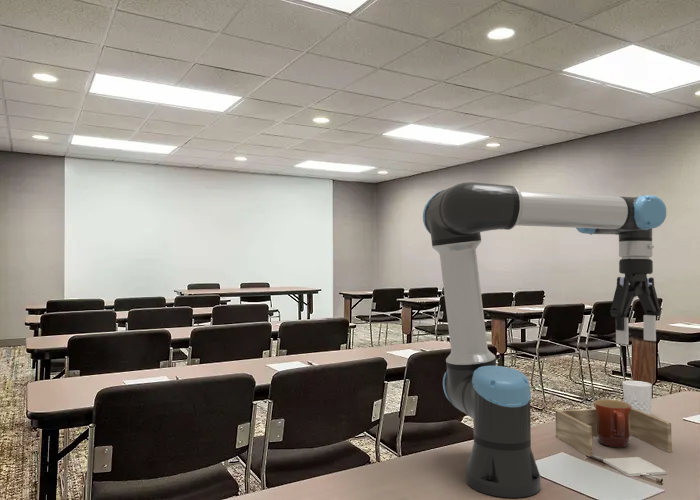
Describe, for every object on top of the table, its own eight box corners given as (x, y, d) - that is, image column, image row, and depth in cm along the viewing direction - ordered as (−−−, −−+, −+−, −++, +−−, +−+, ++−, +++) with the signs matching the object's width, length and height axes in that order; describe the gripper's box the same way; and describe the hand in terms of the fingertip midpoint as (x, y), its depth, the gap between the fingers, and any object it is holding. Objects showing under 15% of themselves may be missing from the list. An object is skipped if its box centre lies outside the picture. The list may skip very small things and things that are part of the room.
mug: (590, 437, 139) (589, 398, 139) (626, 439, 137) (625, 400, 138) (603, 453, 127) (602, 410, 128) (642, 455, 125) (641, 412, 126)
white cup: (629, 411, 165) (629, 379, 165) (657, 416, 159) (656, 383, 159) (618, 415, 160) (618, 383, 160) (646, 421, 154) (645, 387, 154)
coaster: (628, 476, 113) (628, 473, 113) (603, 461, 122) (603, 458, 122) (666, 474, 114) (666, 471, 114) (638, 459, 123) (638, 456, 123)
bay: (588, 456, 125) (587, 427, 125) (556, 436, 140) (555, 410, 140) (671, 451, 128) (671, 423, 128) (631, 433, 143) (630, 407, 143)
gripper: (624, 256, 122) (625, 347, 121) (674, 259, 137) (675, 340, 136) (594, 257, 129) (594, 343, 128) (645, 259, 143) (645, 337, 142)
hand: (636, 342), depth 132 cm, fingers open, 13 cm apart
